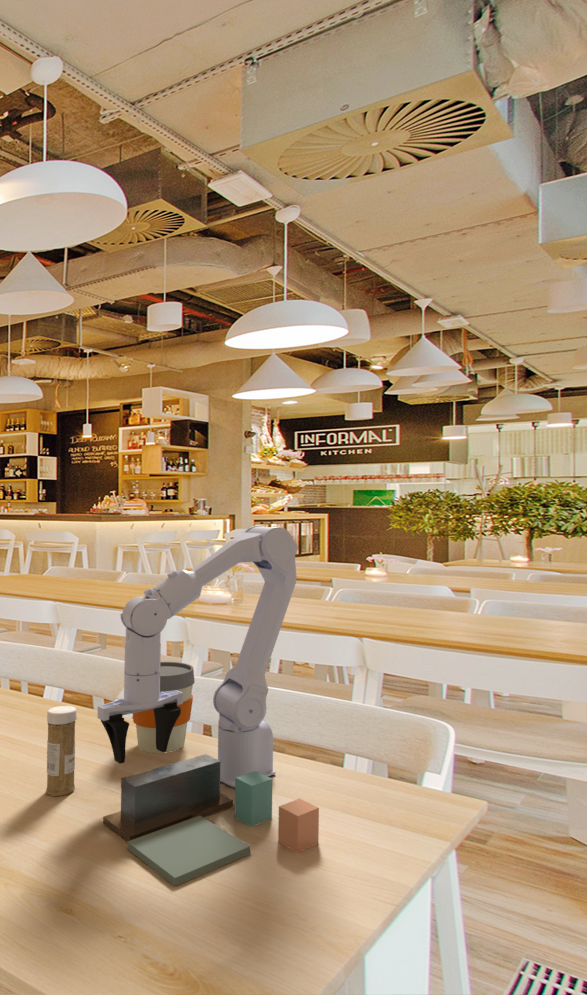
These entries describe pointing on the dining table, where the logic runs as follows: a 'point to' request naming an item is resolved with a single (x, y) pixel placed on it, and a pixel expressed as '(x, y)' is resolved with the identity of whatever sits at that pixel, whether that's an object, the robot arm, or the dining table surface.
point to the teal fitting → (253, 798)
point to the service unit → (168, 797)
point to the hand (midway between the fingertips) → (140, 755)
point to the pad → (188, 849)
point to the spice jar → (61, 750)
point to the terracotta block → (298, 825)
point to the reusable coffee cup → (180, 680)
